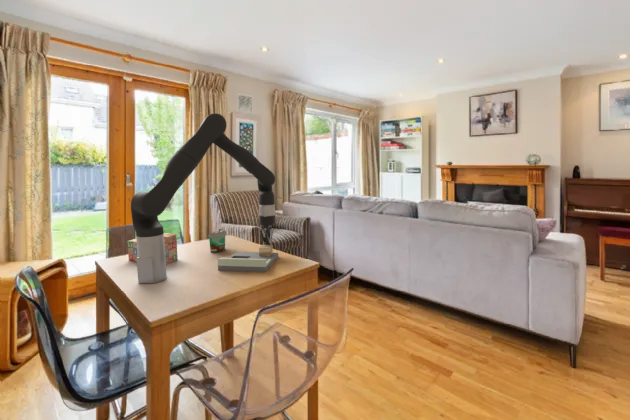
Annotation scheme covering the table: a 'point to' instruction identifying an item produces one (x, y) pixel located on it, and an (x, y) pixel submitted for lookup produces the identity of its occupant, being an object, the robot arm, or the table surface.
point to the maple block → (265, 250)
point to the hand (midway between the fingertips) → (268, 250)
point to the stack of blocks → (170, 248)
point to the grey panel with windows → (247, 262)
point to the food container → (217, 241)
